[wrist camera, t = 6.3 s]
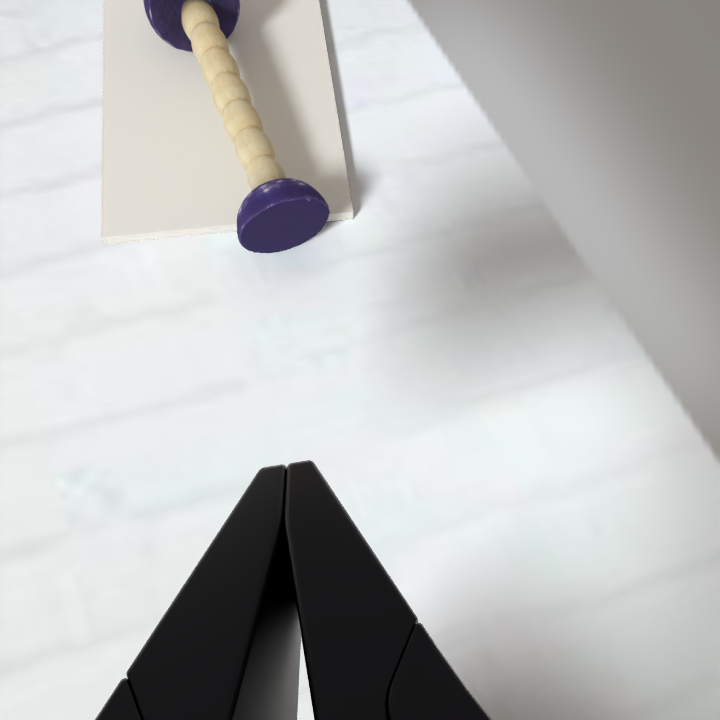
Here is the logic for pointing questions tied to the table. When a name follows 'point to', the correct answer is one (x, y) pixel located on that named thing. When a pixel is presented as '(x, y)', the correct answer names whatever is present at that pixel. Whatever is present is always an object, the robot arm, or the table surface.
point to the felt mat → (212, 121)
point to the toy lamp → (241, 126)
